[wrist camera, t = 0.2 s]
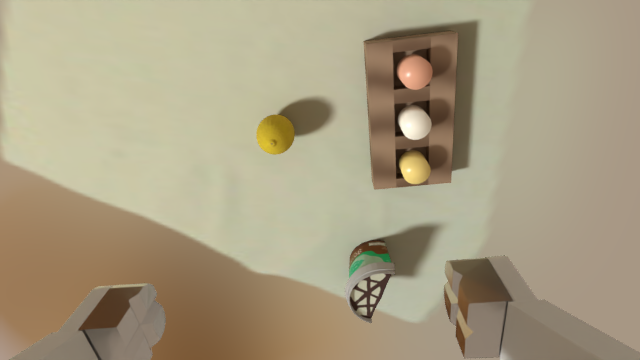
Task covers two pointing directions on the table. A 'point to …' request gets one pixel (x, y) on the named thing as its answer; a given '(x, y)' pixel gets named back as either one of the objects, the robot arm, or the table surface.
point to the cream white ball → (414, 122)
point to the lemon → (275, 134)
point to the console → (394, 96)
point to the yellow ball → (414, 167)
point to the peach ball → (414, 71)
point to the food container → (368, 277)
